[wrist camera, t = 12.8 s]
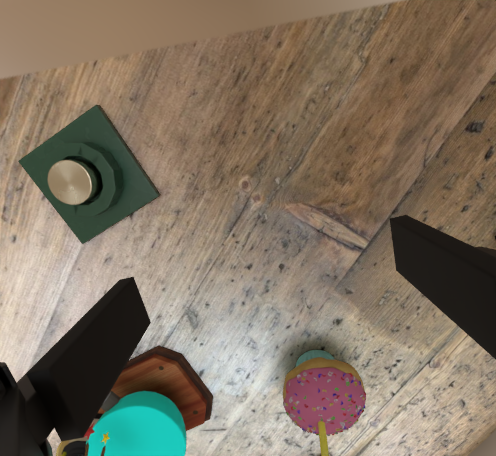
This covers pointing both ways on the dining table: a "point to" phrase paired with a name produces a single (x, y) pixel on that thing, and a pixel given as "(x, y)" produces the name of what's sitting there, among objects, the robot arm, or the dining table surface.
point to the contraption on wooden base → (146, 410)
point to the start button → (74, 181)
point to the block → (108, 166)
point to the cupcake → (323, 395)
